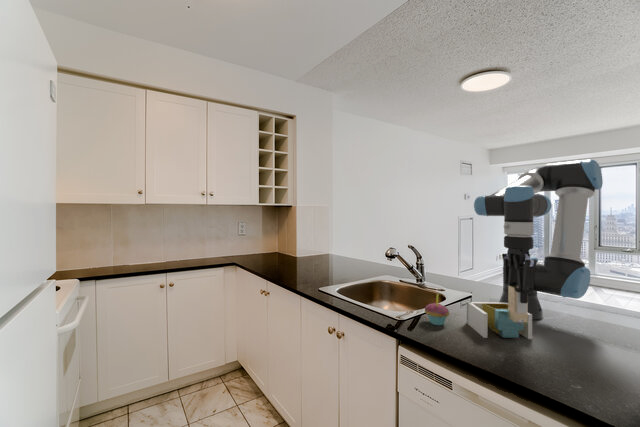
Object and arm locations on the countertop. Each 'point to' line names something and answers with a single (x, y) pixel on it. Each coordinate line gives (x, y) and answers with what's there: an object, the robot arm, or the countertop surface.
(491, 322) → the flower pot
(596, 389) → the countertop surface
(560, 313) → the countertop surface
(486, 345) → the countertop surface
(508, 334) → the rod
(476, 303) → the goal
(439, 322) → the cupcake
